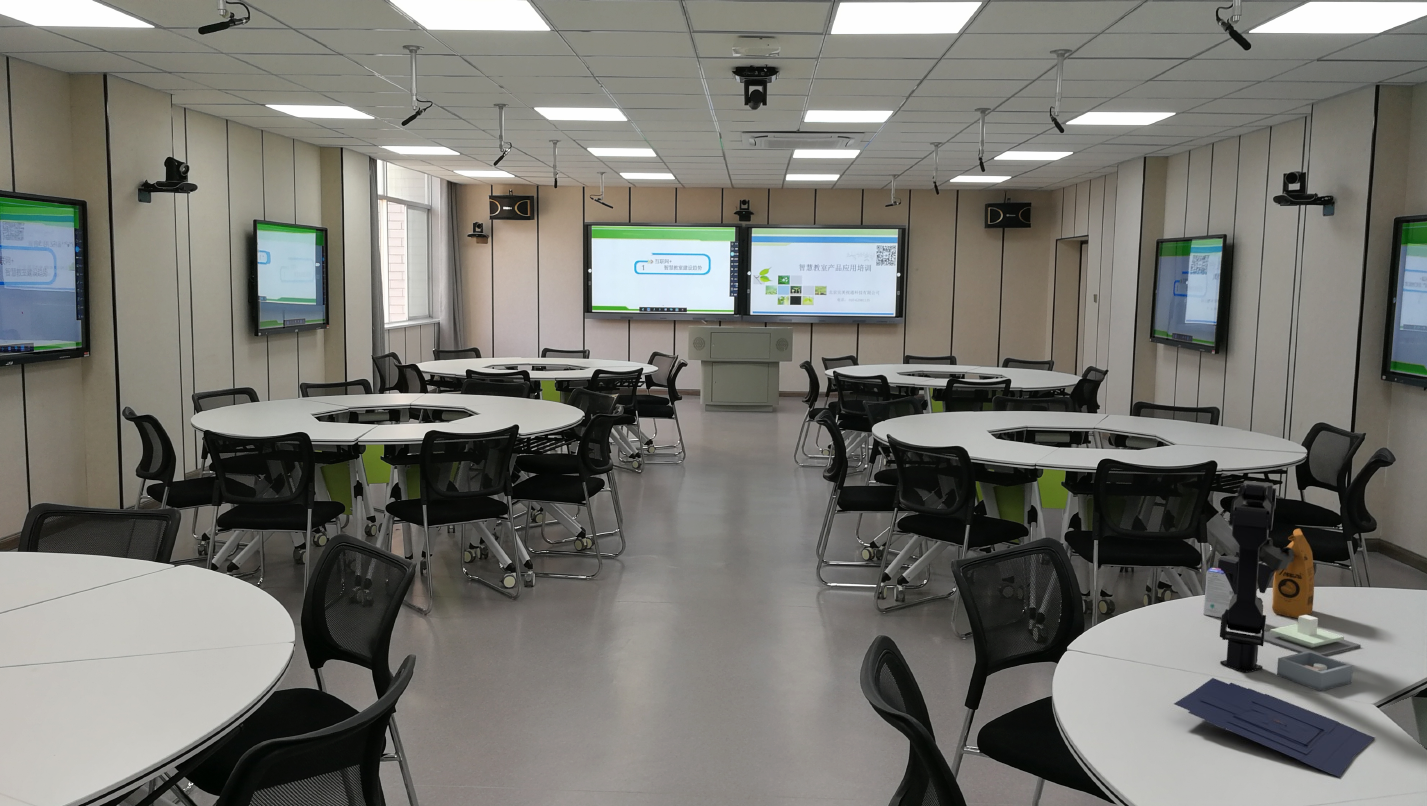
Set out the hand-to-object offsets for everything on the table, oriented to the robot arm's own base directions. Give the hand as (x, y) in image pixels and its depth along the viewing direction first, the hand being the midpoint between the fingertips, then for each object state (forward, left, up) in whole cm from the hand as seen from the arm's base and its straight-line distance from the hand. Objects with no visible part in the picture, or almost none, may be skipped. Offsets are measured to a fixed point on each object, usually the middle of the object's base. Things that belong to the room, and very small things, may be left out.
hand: (1250, 595), depth 248 cm
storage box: (-8, -22, -12) cm, 26 cm away
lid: (+14, -6, -11) cm, 19 cm away
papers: (-43, -36, -12) cm, 57 cm away
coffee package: (+34, +11, -12) cm, 38 cm away
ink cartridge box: (+14, +16, -12) cm, 25 cm away
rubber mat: (+14, -6, -12) cm, 19 cm away
